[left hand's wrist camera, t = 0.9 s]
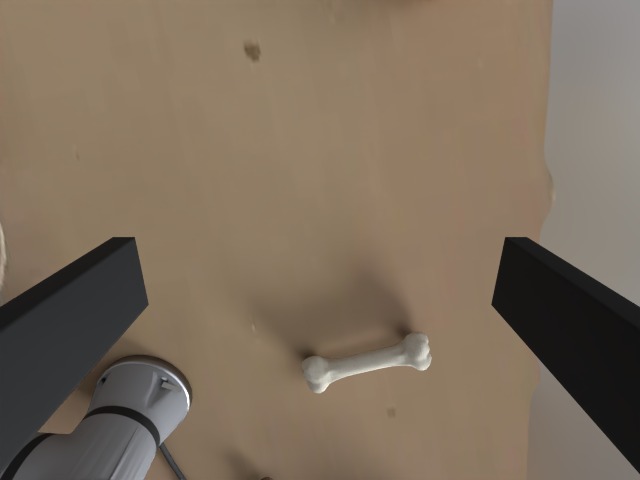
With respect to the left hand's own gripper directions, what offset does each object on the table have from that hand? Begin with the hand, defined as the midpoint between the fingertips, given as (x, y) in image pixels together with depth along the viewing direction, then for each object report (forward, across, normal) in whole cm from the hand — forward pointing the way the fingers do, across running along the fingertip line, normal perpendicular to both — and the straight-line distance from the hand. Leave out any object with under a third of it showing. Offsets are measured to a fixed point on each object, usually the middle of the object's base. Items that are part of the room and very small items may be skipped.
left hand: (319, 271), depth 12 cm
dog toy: (+35, +7, -32) cm, 48 cm away
